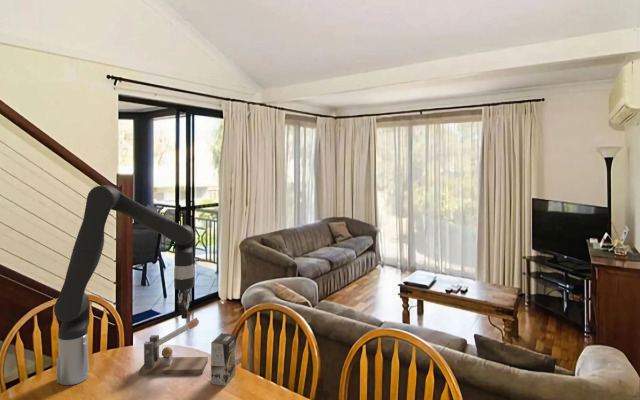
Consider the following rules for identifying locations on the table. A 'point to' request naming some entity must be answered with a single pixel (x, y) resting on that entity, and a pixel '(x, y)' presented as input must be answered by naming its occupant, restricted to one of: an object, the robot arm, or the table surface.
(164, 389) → the table surface
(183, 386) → the table surface
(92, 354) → the table surface
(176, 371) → the press base
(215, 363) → the coffee box
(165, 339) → the lever
